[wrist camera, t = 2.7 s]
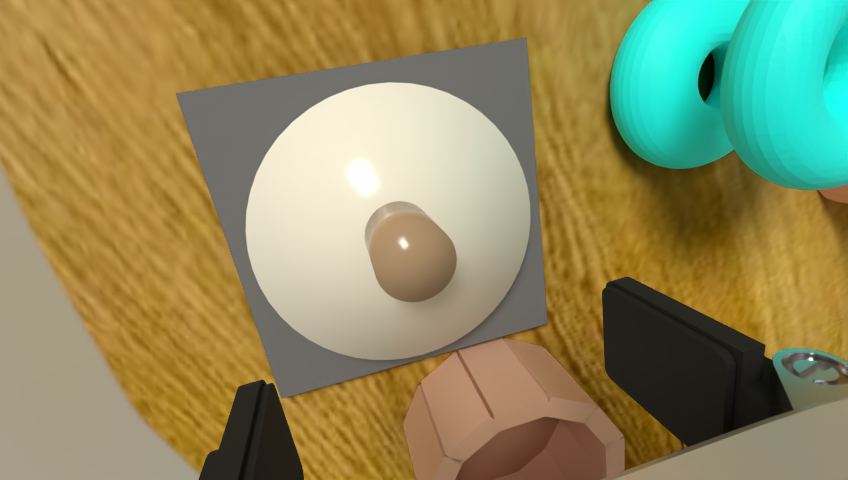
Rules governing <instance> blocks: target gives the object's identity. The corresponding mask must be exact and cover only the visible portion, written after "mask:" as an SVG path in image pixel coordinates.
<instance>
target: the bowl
mask: <svg viewBox="0 0 848 480" xmlns="http://www.w3.org/2000/svg"><path fill="white" fill-rule="evenodd" d="M458 351H459V355H458V354H457V353H456V352H454V353H453V354H452V355H451V356H450V357H449V358H447V359H446V360H445V361H444V362H443V363H442V364H440V365H439V366H438V367H437V368H436V369H435V370H434V371H432V372H431V373H430V374H429V375H428V376H427V377H425V378H424V379H423V380H422V381H421V385H418V387H417V390H416V392H415V395H414V397H413V400H412V402H411V405H410V407H409V410H408V412H407V415H406V417H405V420H404V422H403V423H404V425H403V427H404V432H405V436H406V440H407V445H408V449H409V453H410V458H411V462H412V466H413V470H414V474H415V478H416V480H601V479H604V478H606V477H609V476H612V475H614V474H617V473H620V472H622V471H625V438H624V437H623V434H622V433H621V432H620V430H619V429H618V428H617V427H616V426H615V425H614V423H613V422H612V421H611V420H610V419H609V418H608V416H607V415H606V414H605V413H604V412H603V411H602V409H601V408H600V407H599V406H598V405H597V404H596V403H595V402H594V401H593V400H592V398H591V397H590V396H589V395H588V394H587V393H586V392H585V391H584V390H583V389H582V388H581V387H580V385H579V384H578V383H577V382H576V381H575V380H574V379H573V378H572V377H571V376H570V375H569V374H568V372H567V371H566V370H565V369H564V368H563V367H562V366H561V365H560V364H559V363H558V362H557V361H556V359H555V358H554V357H553V356H552V355H551V354H550V353H549V352H548V351H547V350H546V349H545V348H543V346H539V345H534V344H530V343H526V342H521V341H517V340H513V339H508V338H504V340H503V339H502V338H499V339H495V340H492V341H488V342H485V343H481V344H478V345H474V346H471V347H467V348H464V349H460V350H458Z"/></svg>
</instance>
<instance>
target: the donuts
mask: <svg viewBox="0 0 848 480" xmlns="http://www.w3.org/2000/svg"><path fill="white" fill-rule="evenodd" d="M710 52H711V53H712V56H713V59H714V63H715V76H714V82H713V87H712V89H711V92H710V94H709V96H708V97H707V99H706V101H705V102H704V101H703V100H702V98H701V96H700V94H699V89H698V77H699V72H700V69H701V66H702V64H703V62H704V60H705V58H706V57H707V56H708V54H709V53H710ZM610 103H611V110H612V115H613V118H614V122H615V124H616V127H617V129H618V131H619V133H620V135H621V137H622V138H623V140H624V141H625V143H626V144H627V145H628V146H629V148H630V149H631V150H632V151H633V152H634V153H636V154H637V155H638V156H639V157H641V158H642V159H644V160H646V161H648V162H650V163H652V164H654V165H657V166H661V167H665V168H671V169H686V168H694V167H699V166H702V165H705V164H708V163H711V162H713V161H716V160H718V159H720V158H722V157H723V156H725V155H727V154H728V153H730V152H731V151H733V150H735V152H736V153H737V155H738V156H739V157H740V159H741V160H742V161H743V162H744V163H745V164H746V165H747V167H749V168H750V169H751V170H752V171H754V172H755V173H756V174H758V175H759V176H760V177H762V178H764V179H766V180H768V181H770V182H772V183H775V184H777V185H780V186H783V187H787V188H793V189H800V190H821V189H830V188H835V187H839V186H843V185H847V184H848V0H653V1H651V2H650V3H649V4H648V5H647V6H646V7H645V8H644V9H643V10H642V11H641V13H640V14H639V15H638V16H637V18H636V19H635V20H634V22H633V23H632V25H631V26H630V27H629V29H628V31H627V33H626V34H625V36H624V38H623V40H622V42H621V44H620V46H619V49H618V51H617V54H616V57H615V61H614V64H613V68H612V74H611V81H610Z"/></svg>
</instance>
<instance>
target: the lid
mask: <svg viewBox="0 0 848 480" xmlns="http://www.w3.org/2000/svg"><path fill="white" fill-rule="evenodd" d="M530 222H531V218H530V200H529V193H528V187H527V183H526V180H525V176H524V173H523V170H522V168H521V165H520V163H519V161H518V158H517V156H516V154H515V152H514V151H513V149H512V147H511V146H510V144H509V143H508V141H507V139H506V138H505V137H504V136H503V134H502V133H501V132H500V131H499V130H498V128H497V127H496V126H495V125H494V124H493V123H492V122H491V121H490V120H489V119H488V118H487V117H486V116H484V115H483V114H482V113H481V112H480V111H478V110H477V109H475V108H474V107H473V106H471V105H470V104H468V103H467V102H465V101H463V100H461V99H459V98H457V97H455V96H453V95H451V94H449V93H447V92H444V91H441V90H438V89H435V88H432V87H428V86H423V85H417V84H412V83H393V82H388V83H378V84H368V85H364V86H360V87H356V88H352V89H348V90H346V91H343V92H341V93H338V94H336V95H333V96H331V97H328V98H327V99H325V100H323V101H321V102H320V103H318V104H316V105H314V106H313V107H311V108H309V109H308V110H307V111H306V112H304V113H303V114H302V115H301V116H299V117H298V118H297V119H295V120H294V121H293V122H292V123H291V124H290V125H289V126H288V127H287V128H286V129H285V130H284V131H283V132H282V134H281V135H280V136H279V137H278V138H277V139H276V141H275V142H274V144H273V145H272V146H271V148H270V149H269V151H268V152H267V153H266V155H265V157H264V159H263V161H262V163H261V165H260V167H259V169H258V171H257V173H256V176H255V179H254V182H253V185H252V188H251V190H250V195H249V200H248V205H247V211H246V240H247V250H248V254H249V258H250V262H251V266H252V270H253V272H254V274H255V277H256V279H257V281H258V284H259V286H260V288H261V290H262V291H263V293H264V295H265V296H266V298H267V300H268V301H269V303H270V304H271V305H272V307H273V308H274V309H275V310H276V312H277V313H278V314H279V315H280V317H281V318H282V319H284V320H285V321H286V322H287V323H288V324H289V325H290V326H291V327H292V328H293V329H294V330H296V331H297V332H299V333H300V334H301V335H303V336H304V337H305V338H307V339H308V340H310V341H312V342H314V343H316V344H318V345H320V346H321V347H323V348H326V349H329V350H331V351H334V352H336V353H339V354H343V355H347V356H351V357H355V358H361V359H369V360H395V359H404V358H410V357H414V356H419V355H423V354H426V353H429V352H432V351H435V350H438V349H440V348H442V347H444V346H446V345H448V344H451V343H453V342H455V341H456V340H458V339H459V338H461V337H463V336H464V335H466V334H467V333H469V332H470V331H471V330H473V329H474V328H475V327H477V326H478V325H479V324H480V323H482V322H483V321H484V320H485V319H486V318H487V317H488V316H489V315H490V314H491V313H492V312H493V311H494V309H495V308H496V307H497V306H498V304H499V303H500V302H501V301H502V300H503V298H504V297H505V295H506V294H507V292H508V291H509V289H510V287H511V286H512V284H513V282H514V280H515V278H516V276H517V274H518V272H519V270H520V267H521V264H522V262H523V259H524V256H525V253H526V248H527V244H528V239H529V232H530Z"/></svg>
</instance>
